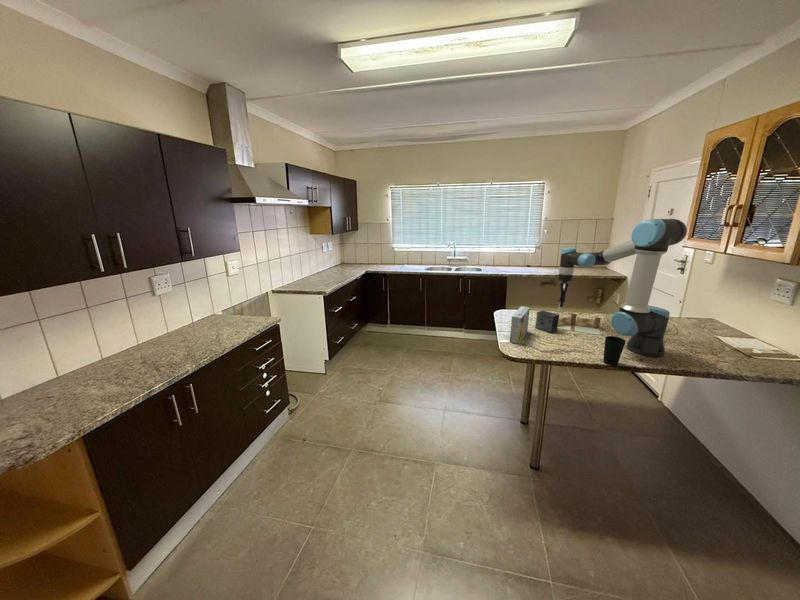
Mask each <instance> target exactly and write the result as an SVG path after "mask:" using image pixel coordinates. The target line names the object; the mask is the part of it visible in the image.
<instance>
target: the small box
mask: <svg viewBox="0 0 800 600" xmlns="http://www.w3.org/2000/svg"><path fill="white" fill-rule="evenodd" d="M559 318H560V314H558V313H554V312H551V311H547V310H540V311H537V313H536V320H535V326H534V327H535V329H537V330H540V331H543V332H546V333H549V334H554V333H556V332H557V331H558V329H557V327H558V320H559Z"/></svg>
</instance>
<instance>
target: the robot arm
mask: <svg viewBox="0 0 800 600" xmlns="http://www.w3.org/2000/svg"><path fill="white" fill-rule="evenodd" d="M687 233H688V228H687V225H686V224H685V223H684V221H682V220H679V219H676V218H652V219H645V220H642V221H640V222H639V223H638V224H636V225H635V227H634V228H633V230H632V231H631V235H630V236H631V238H630V239H631V240H630V239H629V240H627V241H625V242H622V243H619V244H617V245H615V246H611V247H609V248H606V249H604V250H600V251H598V252H597V251H596V252H578V251H577V248H575V247H563V248H562V249H561V253H560V262H559V267H558V270H559V271H558V275H557V276H558V277H557V279H558V281H560V289H559V291H560V295H559V300H558V303H559V304H558V309H557V311H558V313H564V309H565V303H566V301H567V300H566V299H565V298H566V293H567V291H568V287H569V283H568V282H572V281H573V277H574V276H573V274H574V269H575V267H582V268H591V267H595V266H607V265H609V264H611V263H612V262H615V261H619V260H621V259H625V258H627V257H631V256H635V255H636V256H635V261H634V265H633V269H632V272H631V273H632V274H631V277H630V282H629V286H628V288H627V289H628V290H627V293H626V296H625V297H626V298H625V302H624V303H622V304H620V305H619V310H618V311H617V312H615V313H614V314H612V316H611V318H610V324H611V327H612V328H613V329H614V330H613V331H615V332H616V333H617V334H618V335H620V336H624V337H629V336H631V337H630V338H629V340H628V341H627V344H626V349H628V350H629V351H630V352H632V353H634V354H637V355H640V356H644V357H650V358H661V357H662V358H663V357H664V356H665V352H666V348H665V341H664V339H665V333H666V330H667V327H668V323H669V319H670V314H671V313H670V310H668V309H665V308H662V307H658V306H655V305H649V304H650V303H649V302H650V299H651V294H652V291H653V286H654V284H655V280H656V276H657V272H658V269H659V265H660V261H661V258H662V256H663V255H664V254H666V253H667V252H668V249H669V247H670V246H674V245H677V244H679V243H681V242H682V241H683V240H685V237H686V236H687Z"/></svg>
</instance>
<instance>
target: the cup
mask: <svg viewBox="0 0 800 600" xmlns="http://www.w3.org/2000/svg"><path fill="white" fill-rule="evenodd" d="M625 345H626V340H625V339H624V338H621V337H618V336H614V335H607V336H605V338H604V347H603V348H604V349H603V359H602V360H603V361H602V362H603V363H604V364H605V365H608V366H612V367H618V365H619V362H620V359H621V356H622V353H623V350H624V347H625Z"/></svg>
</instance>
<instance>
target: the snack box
mask: <svg viewBox="0 0 800 600" xmlns="http://www.w3.org/2000/svg"><path fill="white" fill-rule="evenodd" d="M530 310H531V309H530V307H527V306H519V308H518V309H517V310H516V311H515V312H514V313H513V315H512V316H511V323H510V331H509V332H510V334H509V343H511V344H516V345H520V344H521V342H522V340H523V338H525V336H526V335H527V334H528V329H529V319H530V318H529V317H530Z"/></svg>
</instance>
